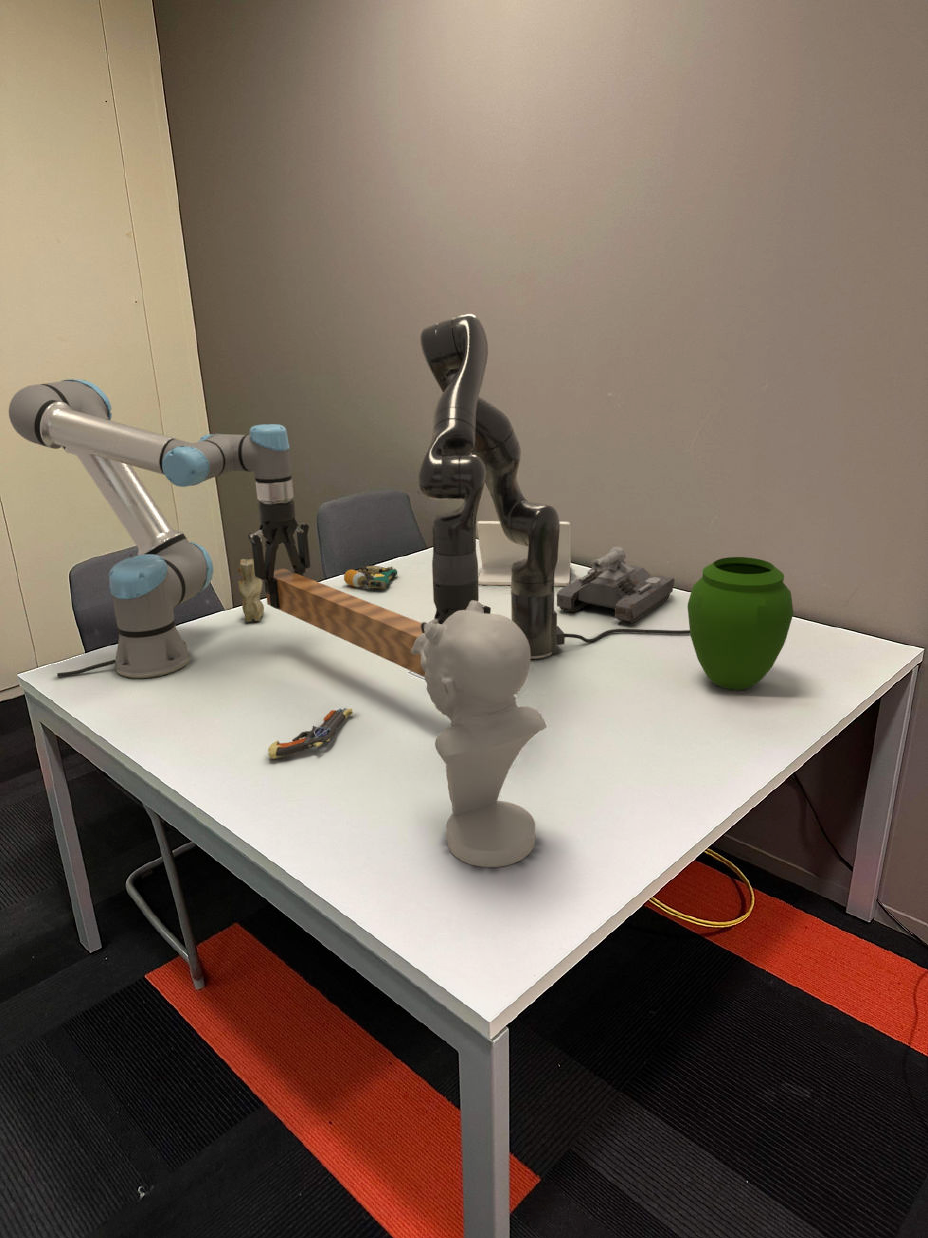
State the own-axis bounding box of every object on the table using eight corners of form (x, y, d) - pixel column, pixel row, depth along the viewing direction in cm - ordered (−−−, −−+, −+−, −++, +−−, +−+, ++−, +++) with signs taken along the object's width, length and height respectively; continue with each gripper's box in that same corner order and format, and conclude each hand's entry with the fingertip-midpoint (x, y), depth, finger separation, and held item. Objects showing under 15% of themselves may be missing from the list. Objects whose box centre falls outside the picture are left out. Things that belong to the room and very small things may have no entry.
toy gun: (263, 749, 145) (318, 746, 143) (303, 706, 163) (352, 703, 161) (266, 763, 146) (321, 761, 144) (306, 719, 164) (355, 716, 161)
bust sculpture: (481, 772, 140) (476, 569, 128) (565, 848, 120) (569, 617, 108) (392, 800, 134) (378, 588, 121) (465, 886, 114) (457, 642, 101)
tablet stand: (569, 585, 229) (570, 524, 223) (476, 584, 232) (475, 523, 226) (570, 566, 246) (571, 508, 240) (484, 564, 249) (483, 507, 243)
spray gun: (366, 572, 247) (411, 580, 241) (334, 586, 233) (382, 594, 227) (366, 558, 246) (412, 565, 240) (334, 571, 232) (382, 579, 226)
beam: (486, 687, 146) (485, 648, 143) (465, 696, 143) (463, 656, 140) (286, 598, 193) (283, 568, 190) (267, 604, 189) (263, 573, 187)
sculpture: (268, 613, 216) (261, 555, 210) (263, 623, 209) (256, 564, 204) (245, 614, 215) (238, 556, 210) (239, 624, 209) (232, 565, 203)
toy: (603, 584, 229) (605, 530, 224) (673, 597, 218) (677, 540, 213) (555, 612, 210) (556, 553, 205) (630, 627, 199) (633, 566, 194)
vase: (795, 674, 173) (808, 558, 164) (770, 712, 157) (784, 587, 149) (700, 656, 183) (708, 546, 174) (668, 690, 167) (675, 571, 159)
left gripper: (303, 490, 188) (312, 590, 196) (228, 504, 177) (241, 609, 185) (321, 495, 182) (330, 598, 191) (245, 510, 171) (258, 618, 180)
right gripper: (472, 562, 147) (474, 652, 153) (406, 581, 139) (411, 676, 145) (502, 571, 142) (503, 664, 148) (436, 591, 133) (440, 690, 139)
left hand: (286, 603), depth 188 cm, fingers closed on beam, 5 cm apart
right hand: (458, 669), depth 146 cm, fingers closed on beam, 5 cm apart
